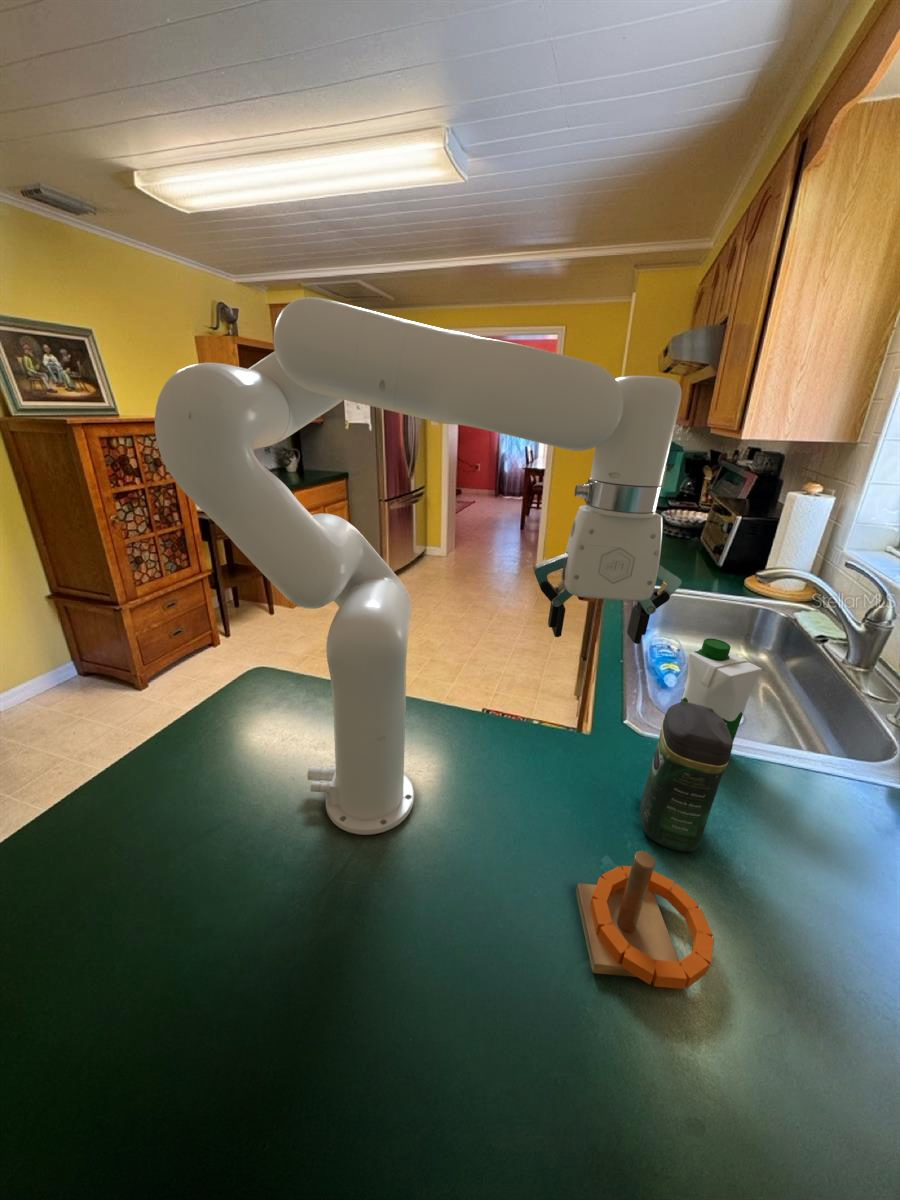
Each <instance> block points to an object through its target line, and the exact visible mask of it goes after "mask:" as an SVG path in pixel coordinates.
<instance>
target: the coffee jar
mask: <svg viewBox="0 0 900 1200" xmlns="http://www.w3.org/2000/svg"><path fill="white" fill-rule="evenodd" d="M733 746H734V742H733V743H732V738H731V735H730V732H729V730H728V727H727V725H726V723H725V722H724V720H723V719H722V718H721V717H720V716H719V715H718V714H717V713H715V712H714V711H713V709H712V708H709V707H705V706H702V705H697V704H693V703H688V702H683V701H682V702H681V701H679V702H677V703H674V704H672V705H671V706H669V707H668V708H667V710H666V712H665V714H664V718H663V720H662V723H661V729H660V732H659V738H658V742H657V745H656V748H655V749H656V750H655V752H654V756H653V759H652V761H651V762H652V763H651V766H650V769H649V773H648V776H647V780H646V783H645V786H644V788H643V793H642V796H641V799H640V806H639V816H640V823H641V827H642V830H643V832H644V834H645V835H646V836H647V837H648V838H649V839H651V840H652V841H653V842H655V843H657V844H658V845H660V846H663V847H665V848H667V849H670V850H674V851H678V852H693V851H695V850H696V849H698V848H699V846H700V844H701V840H702V838H703V836H704V835H703V834H704V832H705V829H706V825H707V822H708V819H709V816H710V813H711V811H712V810H711V809H712V806H713V804H714V800H715V798H716V795H717V792H718V790H719V787H720V783H721V782H722V781H721V780H722V778H723V775H724V773H725V771H726V768H727V767H728V765H729V762H730V758H731V754H732V752H733Z"/></svg>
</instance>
